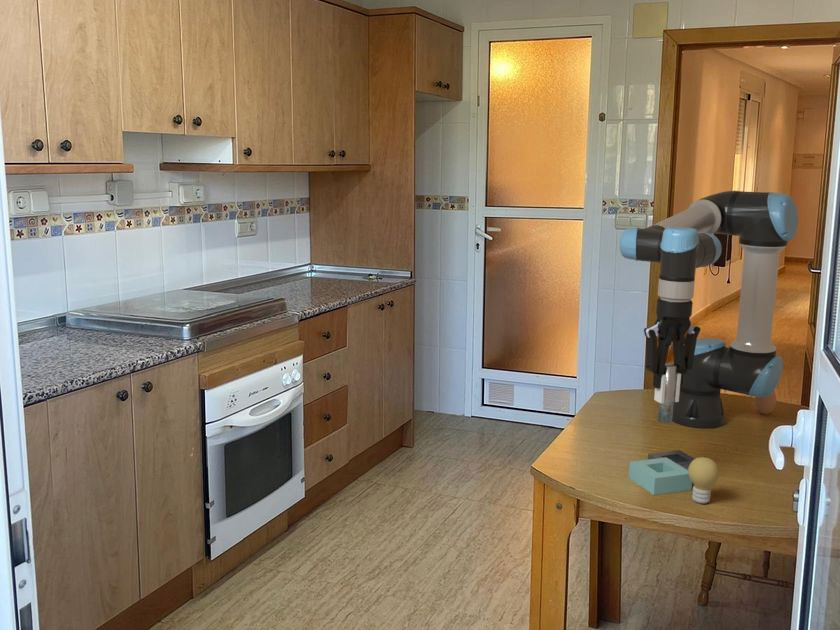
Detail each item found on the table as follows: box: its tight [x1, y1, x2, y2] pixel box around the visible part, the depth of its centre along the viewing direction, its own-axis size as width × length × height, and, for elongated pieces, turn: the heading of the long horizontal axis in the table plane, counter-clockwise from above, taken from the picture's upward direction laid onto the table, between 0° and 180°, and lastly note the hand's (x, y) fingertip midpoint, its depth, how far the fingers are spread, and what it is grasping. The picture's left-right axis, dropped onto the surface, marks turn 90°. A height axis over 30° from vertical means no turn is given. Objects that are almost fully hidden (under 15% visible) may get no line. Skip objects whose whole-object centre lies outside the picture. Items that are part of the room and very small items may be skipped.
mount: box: [647, 449, 695, 470], centre depth 201 cm, size 9×9×2 cm
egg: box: [754, 390, 777, 415], centre depth 243 cm, size 6×6×8 cm
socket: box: [628, 457, 693, 496], centre depth 192 cm, size 10×10×4 cm
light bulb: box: [688, 456, 720, 504], centre depth 182 cm, size 6×6×10 cm
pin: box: [657, 362, 677, 424], centre depth 188 cm, size 3×3×13 cm
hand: (666, 400), depth 188 cm, fingers closed on pin, 3 cm apart
